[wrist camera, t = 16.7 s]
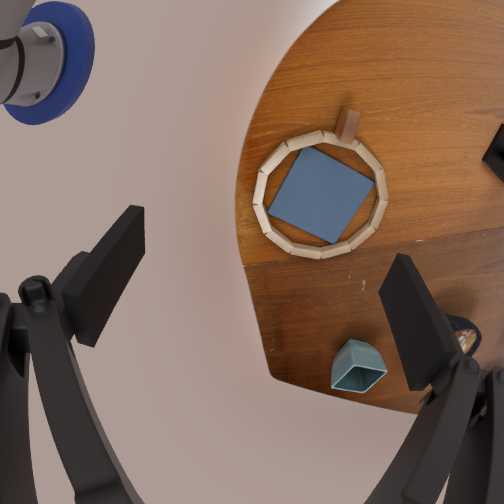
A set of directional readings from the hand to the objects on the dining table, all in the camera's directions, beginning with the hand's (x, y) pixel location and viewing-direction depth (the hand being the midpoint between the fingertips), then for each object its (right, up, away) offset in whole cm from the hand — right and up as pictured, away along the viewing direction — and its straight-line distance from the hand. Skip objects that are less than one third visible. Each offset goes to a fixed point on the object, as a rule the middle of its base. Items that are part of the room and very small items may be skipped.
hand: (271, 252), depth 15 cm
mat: (+9, +8, +29) cm, 32 cm away
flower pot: (+21, -21, +47) cm, 56 cm away
